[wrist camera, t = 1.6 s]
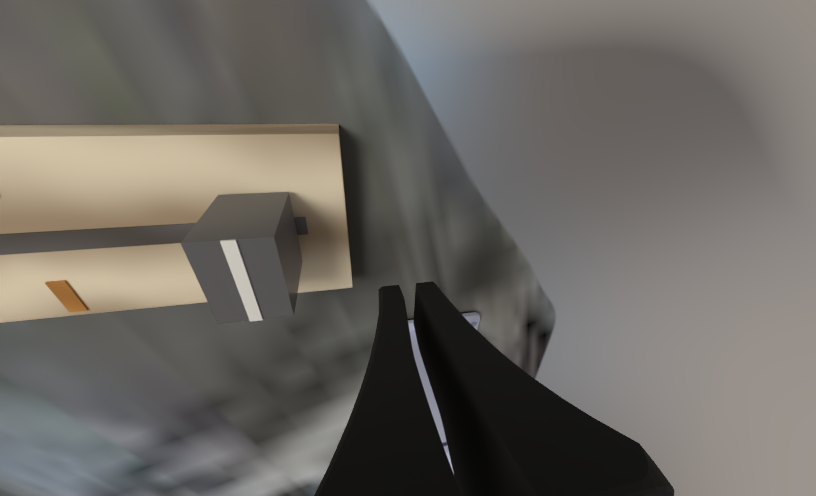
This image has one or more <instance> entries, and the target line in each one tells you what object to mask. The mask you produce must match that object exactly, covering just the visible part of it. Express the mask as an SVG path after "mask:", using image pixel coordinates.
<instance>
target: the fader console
mask: <svg viewBox="0 0 816 496" xmlns="http://www.w3.org/2000/svg"><path fill="white" fill-rule="evenodd" d="M272 192H289V196H290V201H291V205H292V210H293V215H294V220H295V225H296V230H297V235H298V240H299V245H300V250H301V255H302V260H303V262H302V268H301V274H300V280H299V286H298V293H301V292H311V291H321V290H331V289H341V288H351V287H352V272H351V259H350V248H349V237H348V226H347V214H346V203H345V192H344V181H343V170H342V158H341V147H340V136H339V125H338V124H193V125H0V323H1V322H11V321H21V320H31V319H41V318H51V317H61V316H71V315H81V314H91V313H101V312H111V311H121V310H131V309H141V308H151V307H161V306H171V305H181V304H191V303H201V302H208V301H207V299H206V297H205V295H204V293H203V291H202V289H201V286H200V284H199V282H198V280H197V278H196V276H195V274H194V271H193V269H192V267H191V265H190V263H189V261H188V259H187V256H186V254H185V252H184V250H183V248H182V246H181V242H182V240H183V239H184V238H185V236H186V235H187V234H188V233H189V231H190V230H191V229H192V228H193V226H194V225H195V224H196V223H197V221H198V220H199V219H200V217H201V216H202V215H203V214H204V212H205V211H206V210H207V209H208V207H209V206H210V205H211V203H212V202H213V201H214V200H215V198H216V197H217V196H218V195H225V194H248V193H272Z"/></svg>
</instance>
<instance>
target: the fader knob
mask: <svg viewBox="0 0 816 496" xmlns="http://www.w3.org/2000/svg"><path fill="white" fill-rule="evenodd" d="M181 246H182V248H183V250H184V252H185V254H186V256H187V259H188V261H189V263H190V265H191V267H192V269H193V271H194V274H195V276H196V278H197V280H198V282H199V284H200V286H201V289H202V291H203V293H204V295H205V297H206V299H207V301H208V304H209V306H210V308H211V310H212V312H213V314H214V316H215V319H216V321H217V323H218V324H222V323H230V322H239V321H248V320H250V321H259V320H263V319H266V318H275V317H284V316H293V315H294V311H295V305H296V299H297V293H298V286H299V280H300V274H301V268H302V262H303V260H302V255H301V250H300V245H299V240H298V235H297V230H296V225H295V220H294V215H293V210H292V205H291V201H290V196H289V192H272V193H248V194H225V195H218V196H217V197H216V198H215V200H214V201H213V202H212V203H211V205H210V206H209V207H208V209H207V210H206V211H205V212H204V214H203V215H202V216H201V217H200V219H199V220H198V221H197V223H196V224H195V225H194V226H193V228H192V229H191V230H190V231H189V233H188V234H187V235H186V236H185V238H184V239H183V240H182V242H181Z"/></svg>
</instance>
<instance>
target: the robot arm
mask: <svg viewBox="0 0 816 496" xmlns="http://www.w3.org/2000/svg"><path fill="white" fill-rule="evenodd" d="M479 322H480V316H479V314H478V313H477V312H472V313H464V314H461V313H460V312H459V311H458V310H457V309H456V308H455V307H454V305H453V304H452V303H451V302H450V301H449V300H448V299H447V297H446V296H445V295H444V294H443V293H442V291H441V290H440V289H439V288H438V287H437V285H436V284H435V283H434V282H424V283H416V293H415V308H414V320H408V318H407V312H406V306H405V300H404V297H403V294H402V292H401V289H400V287H399V285H394V286H384V287H381V288H380V289H379V317H378V323H377V329H376V335H375V339H374V343H373V347H372V351H371V356H370V359H369V363H368V366H367V370H366V373H365V376H364V379H363V382H362V386H361V389H360V391H359V394H358V397H357V400H356V402H355V405H354V408H353V411H352V413H351V416H350V418H349V421H348V423H347V426H346V428H345V430H344V433H343V435H342V437H341V440H340V442H339V444H338V446H337V449H336V451H335V453H334V456H333V458H332V460H331V462H330V464H329V467H328V469H327V471H326V473H325V475H324V477H323V479H322V481H321V483H320V485H319V487H318V489H317V491H316V493H315V495H314V496H674V489H673V487H672V486H671V484H670V483H669V482H668V480H667V479H666V477H665V476H664V475H663V473H662V472H661V471H660V469H659V468H658V467H657V465H656V464H655V463H654V461H653V460H652V459H651V458H650V456H649V455H648V454H647V453H646V451H645V450H644V449H643V448H642V447H641V445H640V444H639V443H637V442H635V441H634V440H632V439H630V438H628V437H627V436H625V435H623V434H621V433H619V432H618V431H616V430H614V429H612V428H610V427H609V426H607V425H605V424H603V423H601V422H600V421H598V420H596V419H594V418H593V417H591V416H589V415H588V414H586V413H585V412H583V411H581V410H580V409H578V408H577V407H575V406H573V405H572V404H570V403H569V402H567V401H565V400H564V399H562V398H561V397H559V396H558V395H557V394H555V393H554V392H552V391H551V390H549V389H548V388H547V387H545V386H544V385H542V384H541V383H539V382H538V381H537V380H535V379H534V378H532V377H531V376H530V375H528V374H527V373H526V372H524V371H523V370H522V369H521V368H519V367H518V366H517V365H515V364H514V363H513V362H512V361H511V360H509V359H508V358H507V357H506V356H505V355H503V354H502V353H501V352H500V351H499V350H498V349H496V348H495V347H494V346H493V345H492V344H491V343H490V342H489V341H488V340H487V339H486V338H485V337H483V336H482V335H481V334H480V333H479V332H478V331H477V330H478V326H479Z"/></svg>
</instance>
